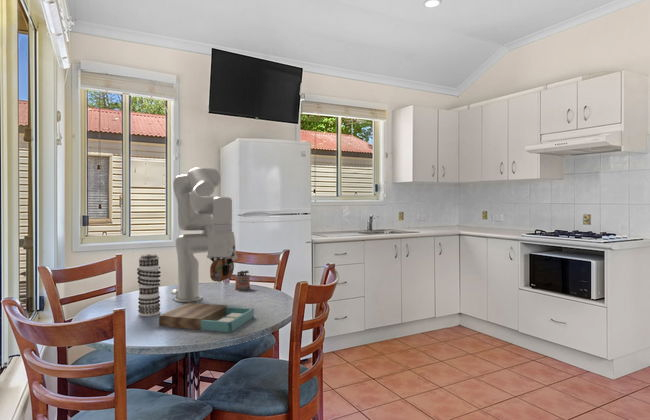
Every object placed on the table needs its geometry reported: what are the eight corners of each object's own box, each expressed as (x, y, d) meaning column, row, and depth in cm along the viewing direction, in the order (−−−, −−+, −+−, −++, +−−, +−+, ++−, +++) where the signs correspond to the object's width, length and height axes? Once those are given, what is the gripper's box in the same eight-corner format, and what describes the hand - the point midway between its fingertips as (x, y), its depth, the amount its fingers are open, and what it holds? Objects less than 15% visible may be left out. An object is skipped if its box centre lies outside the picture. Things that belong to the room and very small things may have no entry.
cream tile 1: (229, 322, 153) (229, 327, 153) (235, 318, 158) (235, 323, 158) (217, 321, 154) (217, 326, 154) (223, 317, 159) (223, 322, 159)
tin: (215, 283, 154) (216, 261, 154) (207, 282, 155) (209, 260, 155) (233, 276, 169) (235, 256, 169) (227, 275, 170) (228, 255, 169)
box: (201, 329, 152) (201, 320, 152) (226, 315, 171) (226, 306, 171) (230, 332, 149) (230, 322, 149) (253, 317, 168) (253, 308, 168)
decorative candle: (137, 311, 176) (137, 253, 175) (160, 309, 179) (160, 252, 179) (136, 317, 167) (136, 256, 167) (161, 315, 171) (160, 255, 170)
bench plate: (158, 325, 156) (158, 315, 156) (188, 312, 175) (188, 302, 175) (201, 329, 152) (201, 319, 152) (226, 315, 171) (226, 305, 171)
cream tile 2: (237, 317, 160) (237, 322, 160) (243, 313, 165) (243, 318, 165) (226, 316, 161) (226, 321, 161) (232, 312, 166) (232, 317, 166)
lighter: (236, 290, 218) (236, 271, 218) (234, 289, 221) (234, 270, 221) (250, 289, 222) (250, 270, 222) (248, 287, 225) (248, 269, 225)
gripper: (198, 228, 160) (198, 275, 160) (236, 229, 156) (236, 277, 156) (208, 227, 167) (208, 272, 168) (245, 228, 163) (245, 274, 164)
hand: (222, 274), depth 162 cm, fingers closed on tin, 2 cm apart
